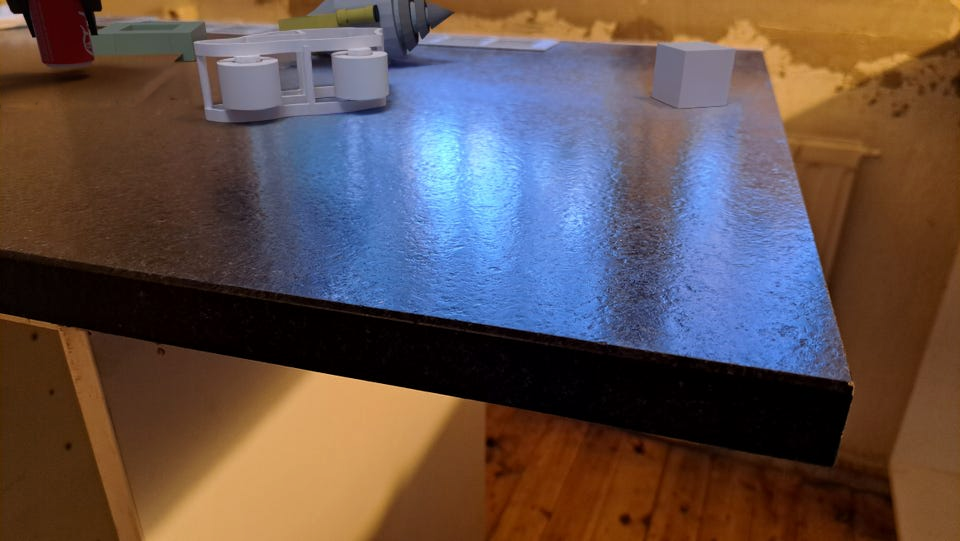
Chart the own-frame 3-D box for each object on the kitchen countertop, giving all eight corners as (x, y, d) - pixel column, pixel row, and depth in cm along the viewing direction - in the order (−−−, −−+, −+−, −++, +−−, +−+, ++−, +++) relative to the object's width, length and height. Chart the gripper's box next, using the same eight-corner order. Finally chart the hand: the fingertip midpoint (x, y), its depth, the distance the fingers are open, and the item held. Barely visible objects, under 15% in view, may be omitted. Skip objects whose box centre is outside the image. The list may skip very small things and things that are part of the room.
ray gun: (308, 10, 109) (259, -19, 90) (459, -11, 107) (443, -46, 87) (319, 84, 111) (273, 71, 92) (468, 64, 109) (454, 47, 89)
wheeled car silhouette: (212, 131, 66) (198, 50, 63) (199, 107, 75) (187, 35, 72) (412, 111, 74) (410, 38, 71) (380, 91, 83) (376, 25, 80)
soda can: (98, 66, 82) (74, -47, 77) (44, 70, 79) (16, -47, 74) (93, 59, 86) (70, -48, 81) (41, 63, 83) (14, -48, 78)
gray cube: (651, 97, 81) (657, 43, 78) (697, 94, 82) (704, 41, 80) (678, 108, 76) (685, 50, 73) (727, 105, 77) (735, 48, 75)
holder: (96, 63, 99) (89, 33, 97) (120, 49, 110) (115, 22, 109) (195, 61, 101) (190, 32, 99) (208, 47, 113) (204, 21, 111)
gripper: (-118, -115, 59) (-25, 57, 80) (124, -107, 66) (153, 49, 87) (-122, -181, 61) (-30, 3, 82) (113, -167, 68) (144, -1, 89)
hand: (64, 26), depth 84 cm, fingers closed on soda can, 5 cm apart
